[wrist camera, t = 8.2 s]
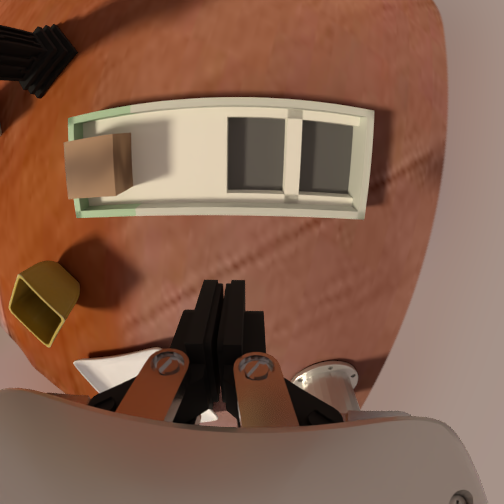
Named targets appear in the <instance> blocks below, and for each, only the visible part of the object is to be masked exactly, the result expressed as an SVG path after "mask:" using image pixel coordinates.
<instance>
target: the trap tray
mask: <svg viewBox="0 0 504 504" xmlns="http://www.w3.org/2000/svg"><path fill="white" fill-rule="evenodd" d="M373 130H374V111H373V110H368V109H363V108H357V107H351V106H345V105H338V104H331V103H323V102H315V101H305V100H294V99H280V98H258V97H216V98H194V99H180V100H168V101H159V102H151V103H143V104H136V105H129V106H123V107H117V108H112V109H107V110H102V111H97V112H92V113H88V114H83V115H79V116H75V117H71V118H68V140H69V141H73V140H78V139H84V138H89V137H95V136H102V135H109V134H118V133H131V152H132V175H133V187H131V188H129V189H128V190H126V191H124V192H122V193H121V194H119V195H117V196H109V197H92V198H77V199H74V204H75V211H76V217H77V218H89V217H114V216H152V215H256V216H296V217H323V218H345V219H363V220H364V217H365V210H366V203H367V195H368V187H369V178H370V168H371V158H372V145H373Z"/></svg>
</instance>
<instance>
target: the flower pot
mask: <svg viewBox="0 0 504 504" xmlns="http://www.w3.org/2000/svg"><path fill="white" fill-rule="evenodd" d="M79 294H80V284H79V282H78V281H77V280H76V279H74V278H73V277H72V276H71V275H70V274H69V273H68V272H67V271H66V270H65V269H64V268H63V267H62V266H61V265H60V264H59V263H57V262H54V261H42V262H39V263H37V264H35V265H33V266H32V267H30V268H28V269H26V270H25V271H23V272H21V273H20V274H18V276H17V279H16V282H15V285H14V289H13V292H12V296H11V300H10V303H9V310H10V311H11V312H12V314H13V315H14V316H15V317H16V318H17V319H18V320H19V321H20V322H21V323H22V324H23V325H24V326H25V327H26V328H27V329H28V330H29V331H30V332H32V333H33V334H34V335H35V336H36V337H37V338H38V339H39V340H40V341H41V342H42V343H43V344H44V345H46V346H47V347H51V345H52V343H53V341H54V339H55V338H56V336H57V334H58V332H59V331H60V329H61V327H62V325H63V323H64V322H65V320H66V318H67V317H68V315H69V313H70V312H71V310H72V309H73V307H74V305H75V304H76V302H77V300H78V298H79Z"/></svg>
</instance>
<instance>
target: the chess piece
mask: <svg viewBox="0 0 504 504" xmlns="http://www.w3.org/2000/svg"><path fill="white" fill-rule="evenodd" d="M77 53H78V52H77V51H76V49H75V48H74V47H73V46H72V44H71V43H70V42H69V40H68V39H67V38H66V37H65V35H64V34H63V33H62V32H61V30H60V29H59V28H58V26H57V25H55V24H53V25H52V26H51V27H49V26H47V25H46V26H45V27H44V28H43V29H42V28H41V27H37V28H36V29H35V31H34V32H33V33H31V32H27V31H24V30H20V29H16V28H11V27H7V26H2V25H0V80H9V81H19V83H20V84H21V86H22V88H23V90H28V91H29V92H30V94H35V95H36V97H37V98H42V96H43V95H44V93H45V92H46V91H47V89H48V88H49V87H50V85H51V84H52V83H53V82H54V80H55V79H56V78H57V77H58V75H59V74H60V73H61V72H62V70H63V69H64V68H65V67H66V66H67V65H68V63H69V62H70V61H71V60H72V59H73V58H74V57H75V56H76V54H77Z"/></svg>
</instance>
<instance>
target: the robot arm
mask: <svg viewBox="0 0 504 504" xmlns="http://www.w3.org/2000/svg"><path fill="white" fill-rule="evenodd" d="M357 382H358V374H357V371H356V369H355V368H354V367H353V366H352V365H351V364H349V363H346V362H342V361H327V362H321V363H318V364H314V365H312V366H309V367H307V368H306V369H304V370H302V371H301V372H299V373H298V374H297V375H296V376H295V377H294V378H293V379H292V380H291V382H290V381H288V380H287V379H285V378H284V377H283V374H282V371H281V368H280V365H279V363H278V361H277V360H276V359H275V358H274V357H273V356H271V355H269V354H267V353H266V345H265V328H264V312H263V311H245V280H232V281H231V284H226V289H225V295H223V284H221V283H218V280H204V282H203V285H202V288H201V291H200V294H199V297H198V301H197V304H196V307H195V310H184V311H183V314H182V316H181V319H180V322H179V325H178V327H177V330H176V333H175V336H174V339H173V341H172V344H171V347H170V348H168V349H162V350H159V351H156V352H155V353H153V354H152V355H151V356H150V357H149V358H148V359H147V361H146V362H145V364H144V366H143V367H142V369H141V370H140V372H139V374H138V375H137V376H136V377H134V378H132V379H130V380H128V381H125V382H123V383H121V384H119V385H117V386H115V387H112V388H110V389H108V390H106V391H104V392H101V393H99V394H97V395H96V396H94V397H93V398H92V399H90V397H89V396H87V395H70V394H57V393H43V392H39V391H35V390H30V389H22V388H5V389H1V390H0V504H488V501H487V498H486V495H485V492H484V489H483V486H482V483H481V480H480V478H479V475H478V473H477V471H476V469H475V466H474V464H473V462H472V460H471V457H470V455H469V453H468V451H467V450H466V448H465V446H464V444H463V443H462V441H461V440H460V438H459V437H458V435H457V434H456V433H455V432H454V430H453V429H452V428H451V427H450V426H448V425H447V424H446V423H444V422H441V421H439V420H436V419H432V418H427V417H416V416H411V415H409V414H408V413H405V412H401V411H360V408H359V405H358V402H357V399H356V396H355V393H354V390H353V389H354V388H355V386H356V385H357ZM220 386H221V392H222V400H223V402H226V410H227V411H228V412H229V413H230V414H232V415H233V416H234V417H235V418H236V419H237V427H238V428H236V427H215V426H201V425H199V424H200V421H201V414H202V413H204V412H205V411H207V410H208V409H211V410H213V403H214V402H219V395H220Z"/></svg>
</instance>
